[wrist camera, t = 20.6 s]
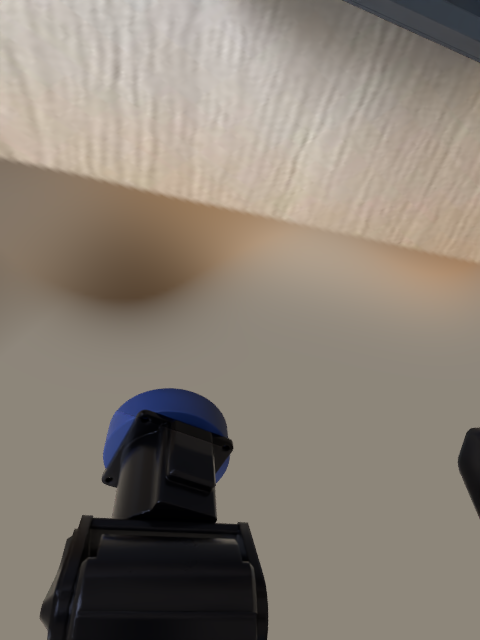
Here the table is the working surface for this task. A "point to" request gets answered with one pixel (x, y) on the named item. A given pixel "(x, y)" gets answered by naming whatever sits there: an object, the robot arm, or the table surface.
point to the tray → (433, 20)
